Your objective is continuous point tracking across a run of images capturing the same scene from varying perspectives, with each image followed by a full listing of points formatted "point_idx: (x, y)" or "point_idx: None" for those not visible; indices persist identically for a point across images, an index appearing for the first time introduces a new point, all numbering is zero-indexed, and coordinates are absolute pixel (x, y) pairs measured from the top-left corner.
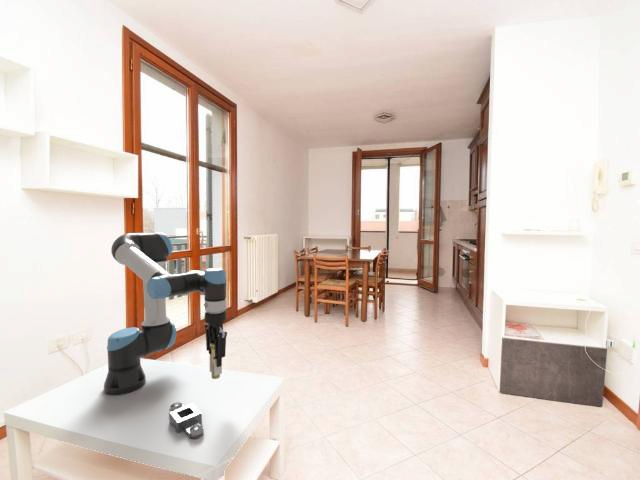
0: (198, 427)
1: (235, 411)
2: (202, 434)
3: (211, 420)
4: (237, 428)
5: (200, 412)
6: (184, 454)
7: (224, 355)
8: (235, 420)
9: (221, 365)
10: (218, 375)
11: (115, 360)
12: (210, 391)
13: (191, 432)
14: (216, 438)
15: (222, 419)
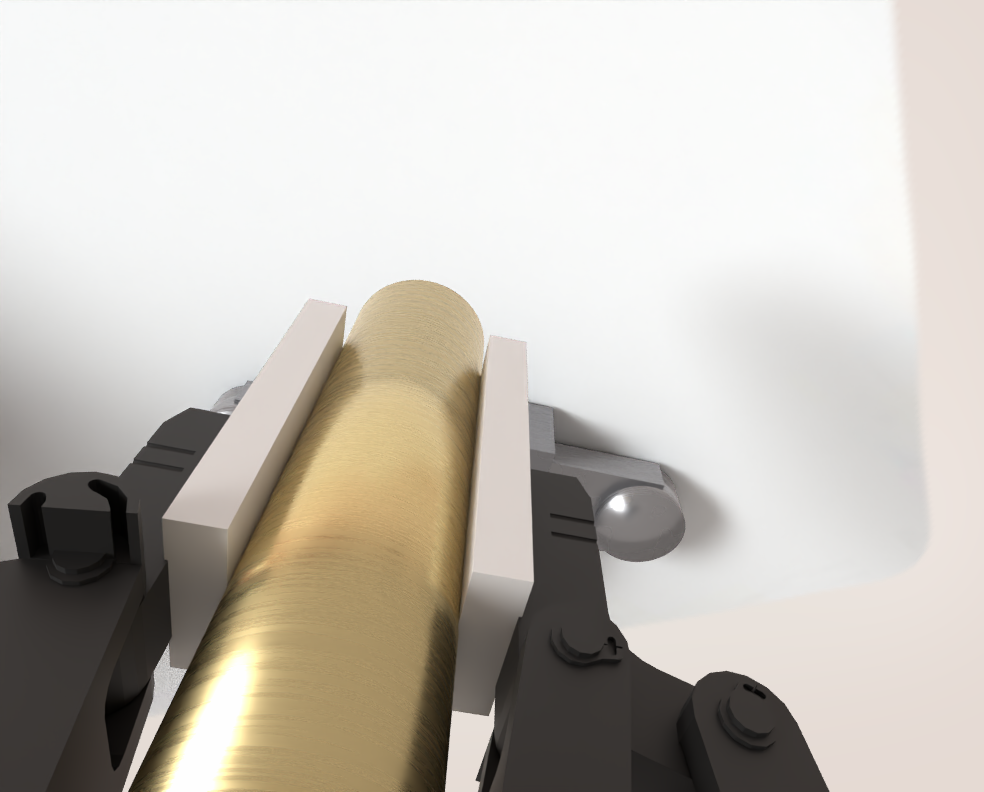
0: (646, 517)
1: (681, 138)
2: (669, 479)
3: (588, 346)
4: (866, 301)
5: (540, 454)
6: (705, 601)
7: (796, 761)
8: (778, 238)
9: (582, 488)
10: (482, 358)
11: None
12: (130, 30)
13: (643, 559)
14: (783, 448)
15: (660, 291)
